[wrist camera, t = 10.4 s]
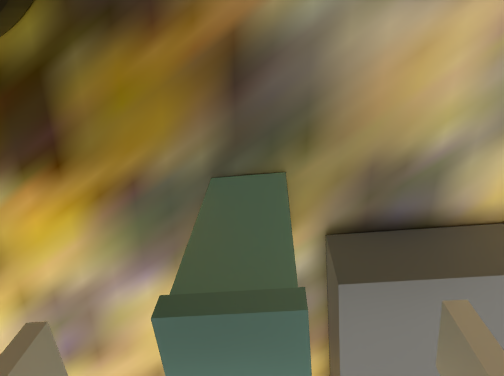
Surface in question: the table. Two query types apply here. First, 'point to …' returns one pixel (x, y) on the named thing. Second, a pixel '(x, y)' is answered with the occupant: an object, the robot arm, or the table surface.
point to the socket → (407, 294)
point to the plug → (237, 288)
